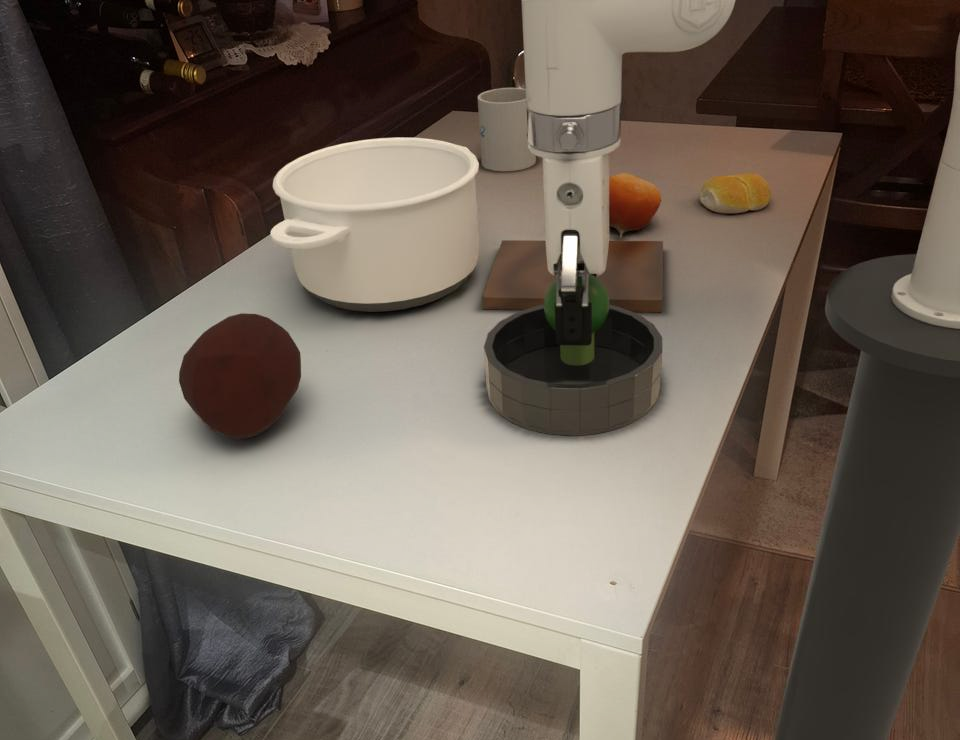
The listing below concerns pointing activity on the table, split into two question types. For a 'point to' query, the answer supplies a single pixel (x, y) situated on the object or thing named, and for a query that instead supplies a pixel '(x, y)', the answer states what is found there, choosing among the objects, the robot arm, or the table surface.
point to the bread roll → (735, 193)
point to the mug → (504, 130)
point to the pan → (573, 374)
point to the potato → (241, 375)
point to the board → (625, 278)
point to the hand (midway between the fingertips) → (576, 324)
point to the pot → (380, 221)
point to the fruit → (631, 202)
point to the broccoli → (599, 314)
